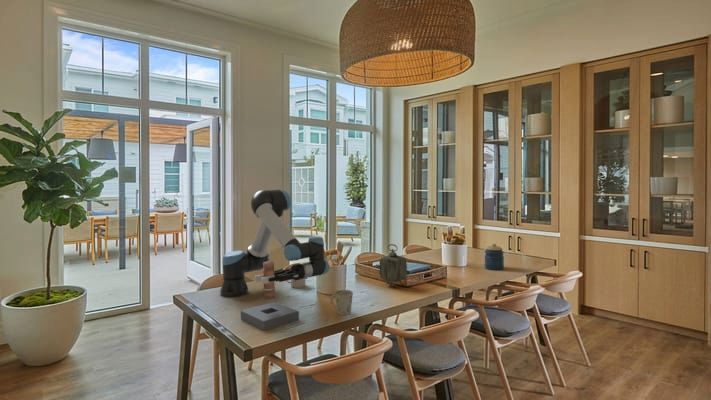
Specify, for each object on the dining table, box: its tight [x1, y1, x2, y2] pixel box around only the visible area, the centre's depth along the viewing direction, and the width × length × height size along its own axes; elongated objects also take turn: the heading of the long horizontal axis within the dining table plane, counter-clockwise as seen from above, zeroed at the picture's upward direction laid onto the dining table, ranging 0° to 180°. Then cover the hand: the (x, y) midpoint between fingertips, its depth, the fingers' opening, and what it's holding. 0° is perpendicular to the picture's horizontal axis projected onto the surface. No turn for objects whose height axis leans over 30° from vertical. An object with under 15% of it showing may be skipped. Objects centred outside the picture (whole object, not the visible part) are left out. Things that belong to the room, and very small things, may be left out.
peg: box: [262, 260, 276, 300], centre depth 178 cm, size 5×5×16 cm
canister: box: [484, 243, 505, 271], centre depth 277 cm, size 13×13×18 cm
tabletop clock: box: [379, 243, 408, 288], centre depth 233 cm, size 14×9×25 cm, turn 50°
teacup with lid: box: [286, 278, 306, 289], centre depth 236 cm, size 12×9×12 cm
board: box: [240, 301, 300, 331], centre depth 179 cm, size 20×18×4 cm
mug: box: [329, 289, 354, 316], centre depth 187 cm, size 8×13×10 cm, turn 58°
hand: (258, 279), depth 174 cm, fingers closed on peg, 5 cm apart
